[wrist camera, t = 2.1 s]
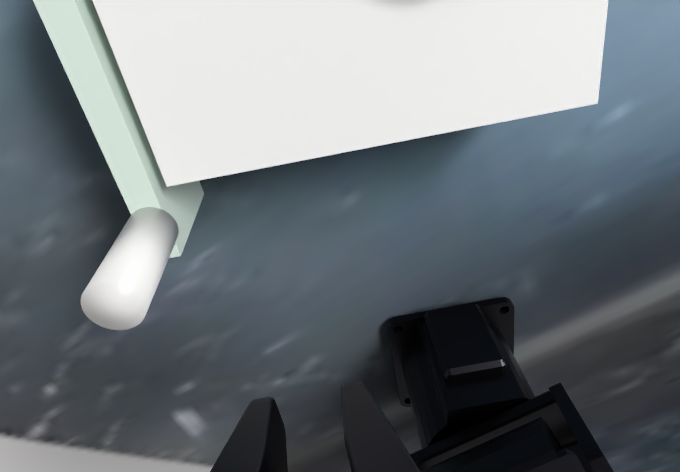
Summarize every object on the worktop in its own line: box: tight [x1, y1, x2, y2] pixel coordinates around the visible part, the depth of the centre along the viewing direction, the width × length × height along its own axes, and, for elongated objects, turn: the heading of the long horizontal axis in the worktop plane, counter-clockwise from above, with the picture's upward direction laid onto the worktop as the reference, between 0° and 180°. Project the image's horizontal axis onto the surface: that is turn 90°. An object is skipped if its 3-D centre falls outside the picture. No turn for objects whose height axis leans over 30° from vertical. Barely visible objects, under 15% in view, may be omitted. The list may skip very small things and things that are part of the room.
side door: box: [33, 0, 204, 330], centre depth 14 cm, size 10×2×9 cm, turn 10°
